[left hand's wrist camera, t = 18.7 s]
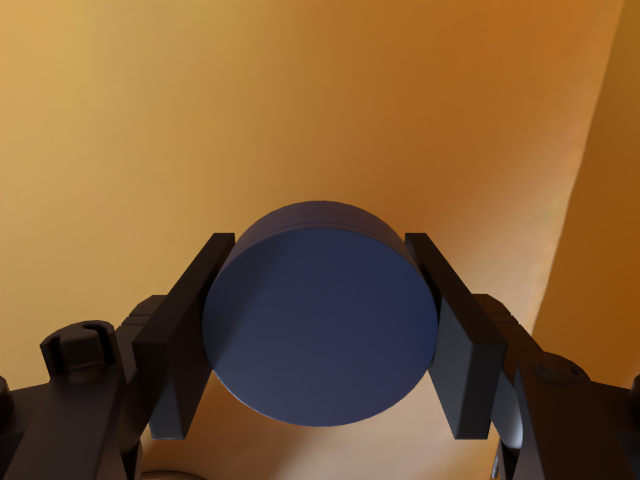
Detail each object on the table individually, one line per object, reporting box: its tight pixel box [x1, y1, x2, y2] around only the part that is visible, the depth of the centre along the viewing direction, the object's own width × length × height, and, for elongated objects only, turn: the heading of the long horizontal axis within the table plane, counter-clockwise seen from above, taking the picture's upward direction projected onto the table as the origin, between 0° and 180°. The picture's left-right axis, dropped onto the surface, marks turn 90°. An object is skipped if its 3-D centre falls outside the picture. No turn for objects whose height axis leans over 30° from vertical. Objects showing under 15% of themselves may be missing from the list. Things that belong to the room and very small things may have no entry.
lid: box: [202, 201, 438, 427], centre depth 11 cm, size 6×6×2 cm
